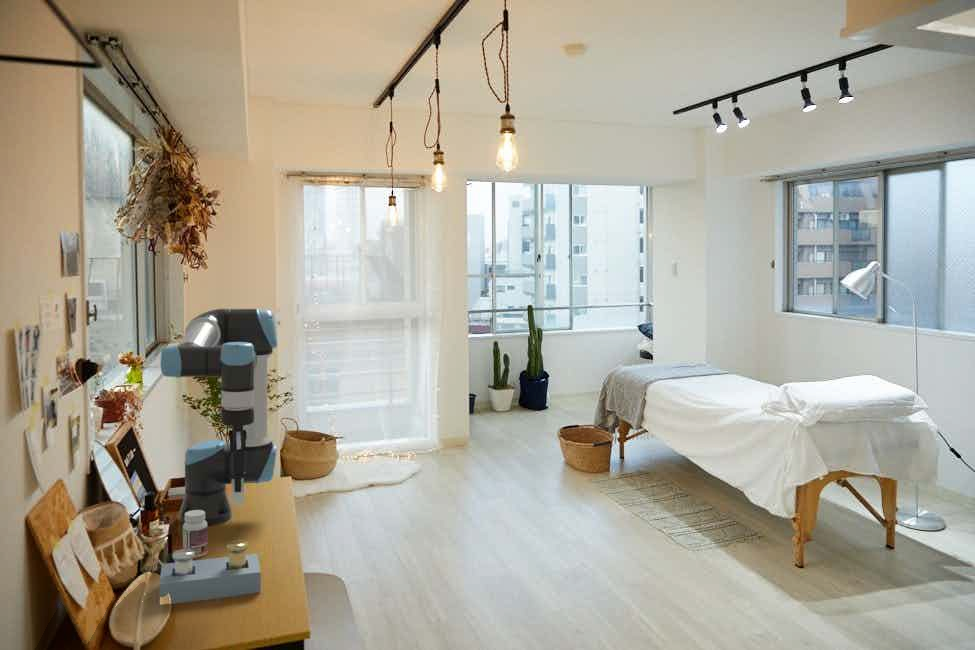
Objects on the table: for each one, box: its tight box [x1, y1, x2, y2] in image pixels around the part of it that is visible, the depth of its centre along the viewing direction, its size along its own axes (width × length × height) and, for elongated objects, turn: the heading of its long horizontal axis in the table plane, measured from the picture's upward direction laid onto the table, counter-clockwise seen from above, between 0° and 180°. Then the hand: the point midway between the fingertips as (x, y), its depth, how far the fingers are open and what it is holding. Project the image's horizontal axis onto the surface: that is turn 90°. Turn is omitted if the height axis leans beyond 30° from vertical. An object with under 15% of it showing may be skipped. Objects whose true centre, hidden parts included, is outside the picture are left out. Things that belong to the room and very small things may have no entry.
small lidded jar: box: [172, 548, 195, 576], centre depth 172 cm, size 5×5×8 cm
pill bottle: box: [182, 510, 209, 559], centre depth 195 cm, size 6×6×11 cm
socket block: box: [158, 553, 262, 605], centre depth 175 cm, size 12×22×5 cm, turn 111°
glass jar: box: [226, 540, 249, 570], centre depth 177 cm, size 5×5×8 cm
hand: (237, 503), depth 176 cm, fingers closed
